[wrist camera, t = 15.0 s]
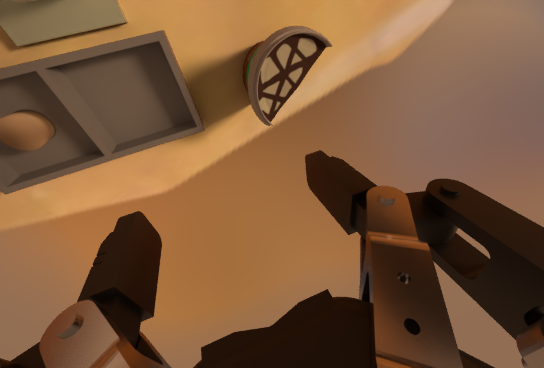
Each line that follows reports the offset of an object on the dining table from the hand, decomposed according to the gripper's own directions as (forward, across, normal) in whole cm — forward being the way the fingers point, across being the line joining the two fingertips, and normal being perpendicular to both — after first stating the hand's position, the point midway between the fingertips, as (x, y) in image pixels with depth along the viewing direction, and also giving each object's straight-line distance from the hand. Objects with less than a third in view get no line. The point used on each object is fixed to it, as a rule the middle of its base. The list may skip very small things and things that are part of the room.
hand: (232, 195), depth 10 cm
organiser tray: (+26, +14, -1) cm, 30 cm away
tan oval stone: (+26, +21, -1) cm, 33 cm away
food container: (+27, -9, -2) cm, 28 cm away
